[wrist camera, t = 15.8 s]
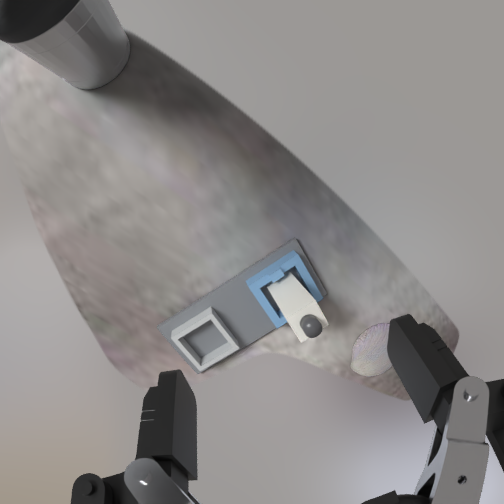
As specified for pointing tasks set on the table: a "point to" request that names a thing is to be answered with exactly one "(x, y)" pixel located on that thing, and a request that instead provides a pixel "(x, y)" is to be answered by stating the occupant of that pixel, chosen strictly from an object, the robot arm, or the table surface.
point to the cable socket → (238, 309)
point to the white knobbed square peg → (298, 307)
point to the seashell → (371, 351)
